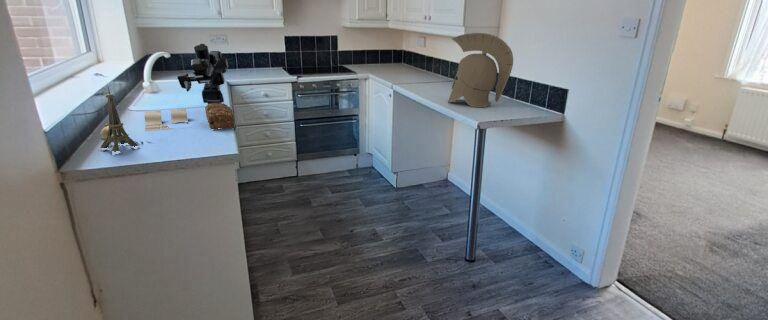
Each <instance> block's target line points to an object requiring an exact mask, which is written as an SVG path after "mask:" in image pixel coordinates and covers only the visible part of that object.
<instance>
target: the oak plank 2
mask: <svg viewBox="0 0 768 320" xmlns="http://www.w3.org/2000/svg"><path fill="white" fill-rule="evenodd" d="M187 114H188V112H187V108H178V109H170V115H171V116H170V117H171V124H175V123H176V122H184V123H186V122H185V121H188V122H189V119H188V118H189V117H188V115H187Z"/></svg>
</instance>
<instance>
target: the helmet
mask: <svg viewBox="0 0 768 320" xmlns="http://www.w3.org/2000/svg"><path fill="white" fill-rule="evenodd" d="M451 40H452V41H453V42H455V43H456V44H457V45H458V46H459V47H460V49H461V51H462V52H463V53H465V52H472V51H473V52H481V53H470V54H468V55H467V56H466V55H465V57H463V58H461V59H460V61H459V64H458V69H457V72H456V74H455V76H454V80H453V83H452V85H451V92H450V95H449V98H448V99H447V102H448V103H454V102H455V101H457V100H459V99H460V98H462V97H463V99H464V101H465V102H466V104H467V105H469V106H471V107H474V108H486V107H490V106H491V105H492V102H490V101H489V98H490V97H489V96H490V93H491V91H492V90H494V88H495V97H494V101H495V102H496V103H498V101H499V100H500V98H501V97H502V94H503V93H504V90H505V87H506V86H507V83H508V81H509V78H510V76H511V73H512V70H513V66H514V55H513V52H512V49H511V47H510V46H509V45H508V44H507V42H505V41H504V40H503V39H501V38H500V37H498V36H496V35H494V34H490V33H486V32H471V33H464V34H461V35H457V36H454V37H452V38H451ZM489 55H490V56H492V57H493V58H494V59H495V61H496V62H495V61H494V59H493V58H492V57H490V56H489ZM496 64H497V65H496Z"/></svg>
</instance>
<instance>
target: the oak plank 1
mask: <svg viewBox="0 0 768 320" xmlns="http://www.w3.org/2000/svg"><path fill="white" fill-rule="evenodd" d="M143 114H144V125H145V126H151V125H163V119H162V112H161V110H152V111H151V110H150V111H144V113H143Z"/></svg>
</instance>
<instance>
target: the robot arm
mask: <svg viewBox="0 0 768 320" xmlns="http://www.w3.org/2000/svg"><path fill="white" fill-rule="evenodd" d="M193 49H194V54H195V58H193V59H191V61H190V63H191V64H190V67H191V68H192V70H193V71H192V73H193V75H189V73H179V74H178V76H177V80H178V82H179V85H180V88H182V89H186V92H189V91H191V88H192V82H197V83H198V84H199V85H200V84H204V86H203V89H202V91H201V97H202V102H203V104H207V105H208V104H210V103H216V102H217V103H222V104H223V103H225V99H224V95H223V93H222V91H221V88H220V86H222V85H224V84H225V77H224V74H225V73H226V72H227V69H229V63H228V59H227V57H225V56H224V55H223V54H222V52H221V51H220V50H210V52H209V47H208V45H206V44H205V43H200V44H198V45H195V46H194V47H193Z"/></svg>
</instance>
